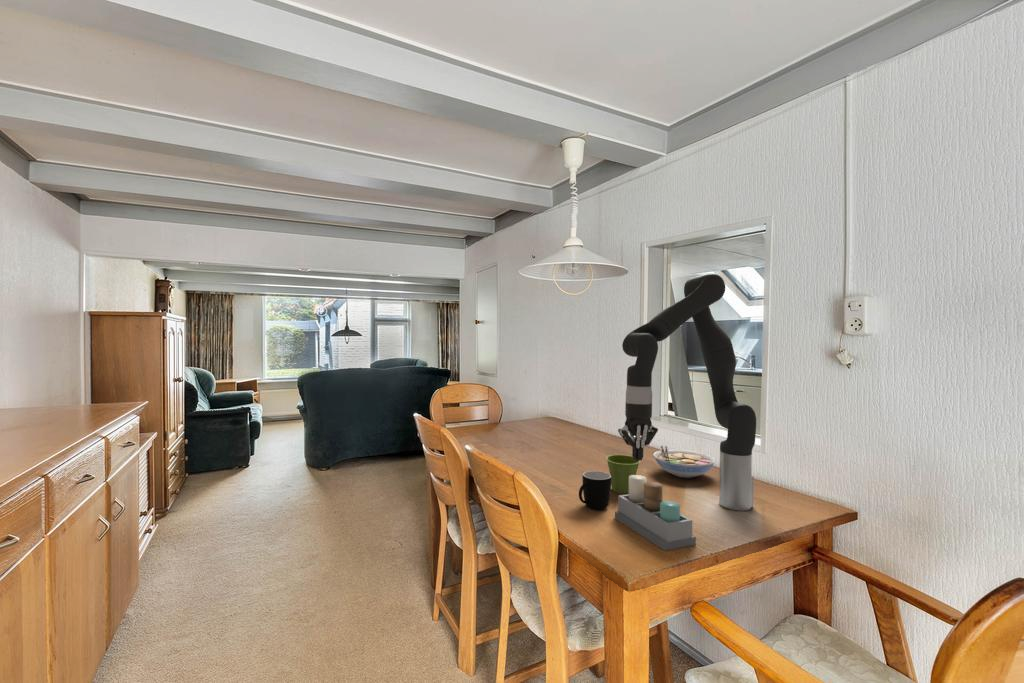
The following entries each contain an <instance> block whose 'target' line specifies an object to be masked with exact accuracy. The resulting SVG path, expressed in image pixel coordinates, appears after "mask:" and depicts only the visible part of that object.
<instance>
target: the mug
mask: <svg viewBox="0 0 1024 683" xmlns="http://www.w3.org/2000/svg"><path fill="white" fill-rule="evenodd" d="M611 491H612V486H611V475H610V473H609V472H605V471H600V470H588V471H584V472H583V473H582V484H581V486H580V488H579V490H578V498H579V501H580V502H581V503H582V504H585V506H586V507H587V509H589V510H592V511H603V510H606V509H608V506H609V503H610V499H611Z"/></svg>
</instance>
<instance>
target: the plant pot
mask: <svg viewBox="0 0 1024 683" xmlns="http://www.w3.org/2000/svg"><path fill="white" fill-rule="evenodd" d="M605 460H606V461H607V467H608V468H609V469H608V470H609V474H610V475H611V491H613V492H614V493H617V494H620V495H625V494H626V495H627V494H629V476H630V475H637V472H638V469H639V465H640V463H641V461H642V460H641V461H636V460H634V458H633V457H632V455H629V454H611V455H606V457H605Z"/></svg>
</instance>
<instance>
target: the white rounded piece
mask: <svg viewBox="0 0 1024 683" xmlns="http://www.w3.org/2000/svg"><path fill="white" fill-rule="evenodd" d="M646 482H647V477H646V476H643V475H640V474H639V475H638V474H636V475H630V476H629V500H630V501H632V502H637V503H642V502H644V483H646Z"/></svg>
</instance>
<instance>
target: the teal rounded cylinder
mask: <svg viewBox="0 0 1024 683" xmlns="http://www.w3.org/2000/svg"><path fill="white" fill-rule="evenodd" d="M680 514H681V505H680V503H678V502H676V501H671V500H662V502H660V518H661V519H663V520H665V521H666V522H668V523H670V522H676V521H680Z"/></svg>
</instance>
